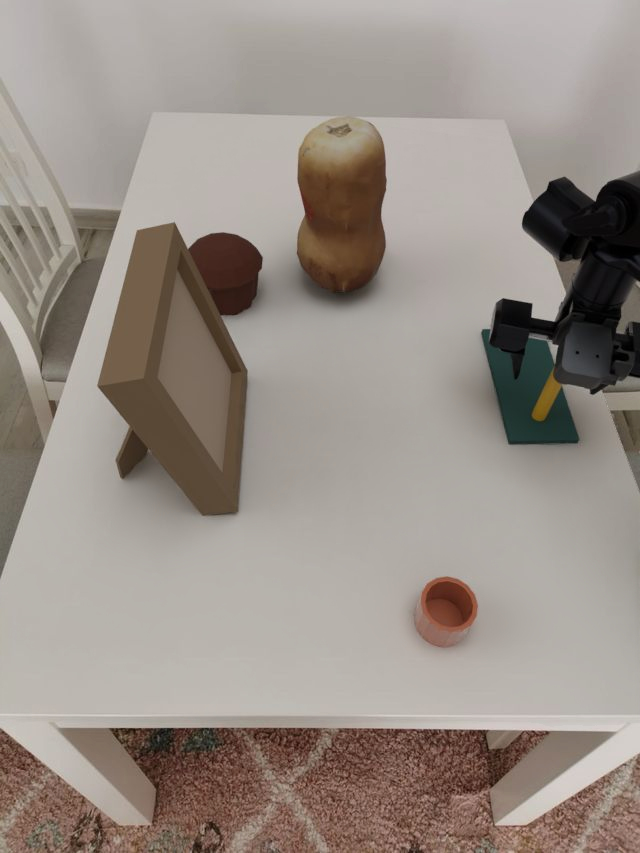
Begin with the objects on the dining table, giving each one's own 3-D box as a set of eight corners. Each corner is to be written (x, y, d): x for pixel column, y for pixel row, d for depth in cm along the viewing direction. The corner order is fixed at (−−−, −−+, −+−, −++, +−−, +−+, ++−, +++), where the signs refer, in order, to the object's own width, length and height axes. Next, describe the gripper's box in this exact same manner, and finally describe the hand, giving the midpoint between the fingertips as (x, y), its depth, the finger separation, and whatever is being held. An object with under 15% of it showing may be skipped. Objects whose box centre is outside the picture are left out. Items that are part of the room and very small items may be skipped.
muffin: (178, 314, 93) (165, 260, 85) (203, 267, 99) (194, 213, 91) (254, 327, 91) (248, 274, 83) (274, 279, 98) (271, 225, 90)
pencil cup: (469, 603, 67) (480, 584, 63) (463, 654, 64) (474, 638, 59) (418, 590, 68) (425, 570, 63) (409, 640, 65) (416, 623, 60)
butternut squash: (289, 260, 101) (283, 105, 80) (368, 247, 103) (381, 93, 82) (309, 318, 93) (308, 162, 73) (394, 303, 95) (416, 148, 75)
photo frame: (248, 375, 86) (227, 221, 66) (238, 515, 73) (209, 377, 53) (141, 376, 86) (87, 222, 65) (112, 516, 73) (35, 379, 53)
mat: (577, 443, 80) (580, 439, 79) (508, 444, 79) (510, 440, 79) (541, 332, 91) (543, 328, 91) (481, 332, 91) (482, 328, 91)
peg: (545, 412, 82) (573, 356, 73) (545, 422, 81) (573, 367, 72) (531, 409, 82) (557, 353, 73) (531, 419, 81) (557, 364, 72)
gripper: (502, 323, 60) (469, 419, 73) (704, 361, 58) (634, 453, 70) (511, 252, 67) (479, 352, 79) (693, 283, 64) (630, 381, 77)
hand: (553, 384), depth 76 cm, fingers open, 9 cm apart
